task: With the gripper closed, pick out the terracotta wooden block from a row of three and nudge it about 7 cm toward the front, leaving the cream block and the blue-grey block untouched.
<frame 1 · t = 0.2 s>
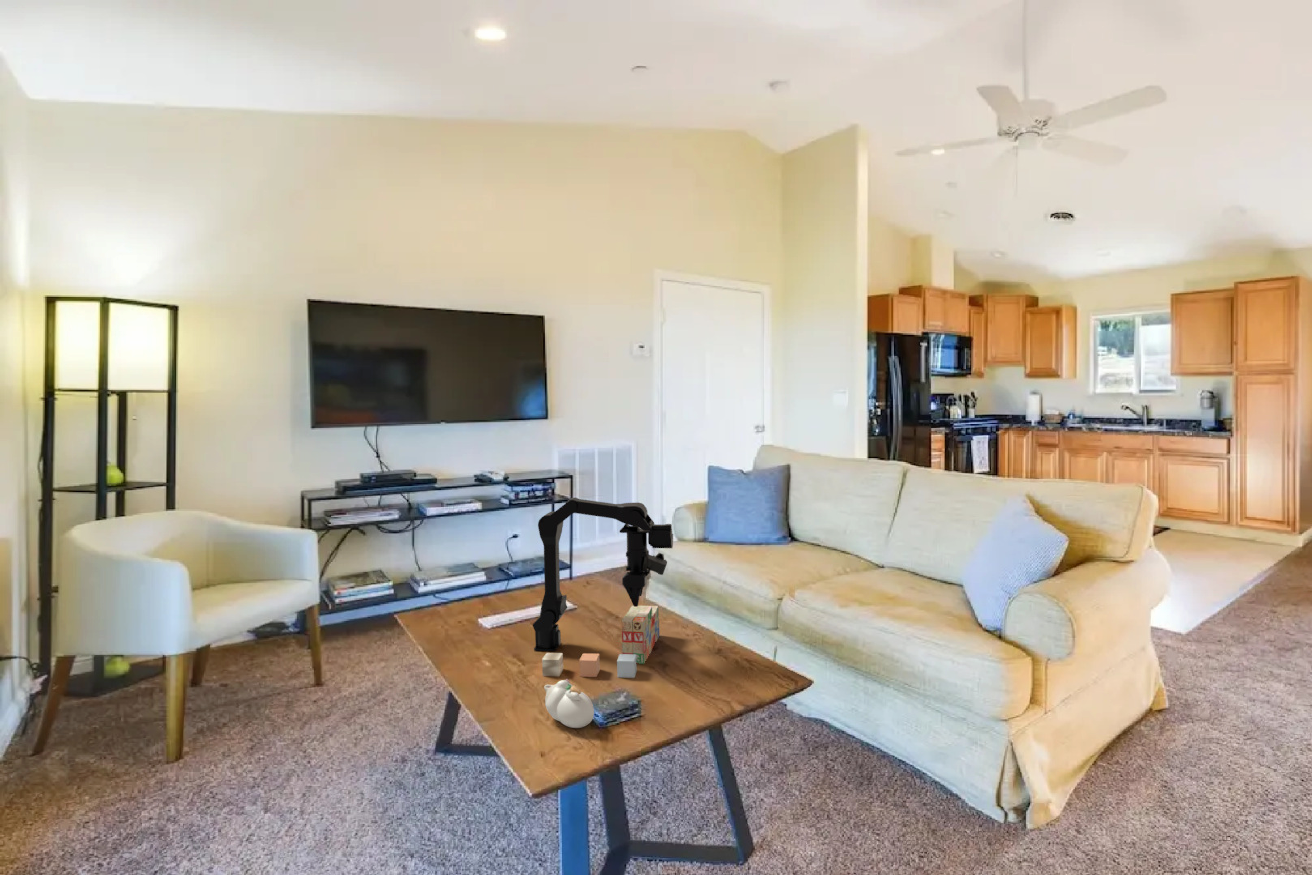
hand: (637, 601, 191), 14 cm above the table, tool pointing down, fingers open, 9 cm apart
cat figurine: (568, 721, 152), on the table
terracotta block: (589, 673, 177), on the table
stack of blocks: (642, 649, 192), on the table
blue grey block: (627, 674, 176), on the table
cream block: (553, 672, 178), on the table
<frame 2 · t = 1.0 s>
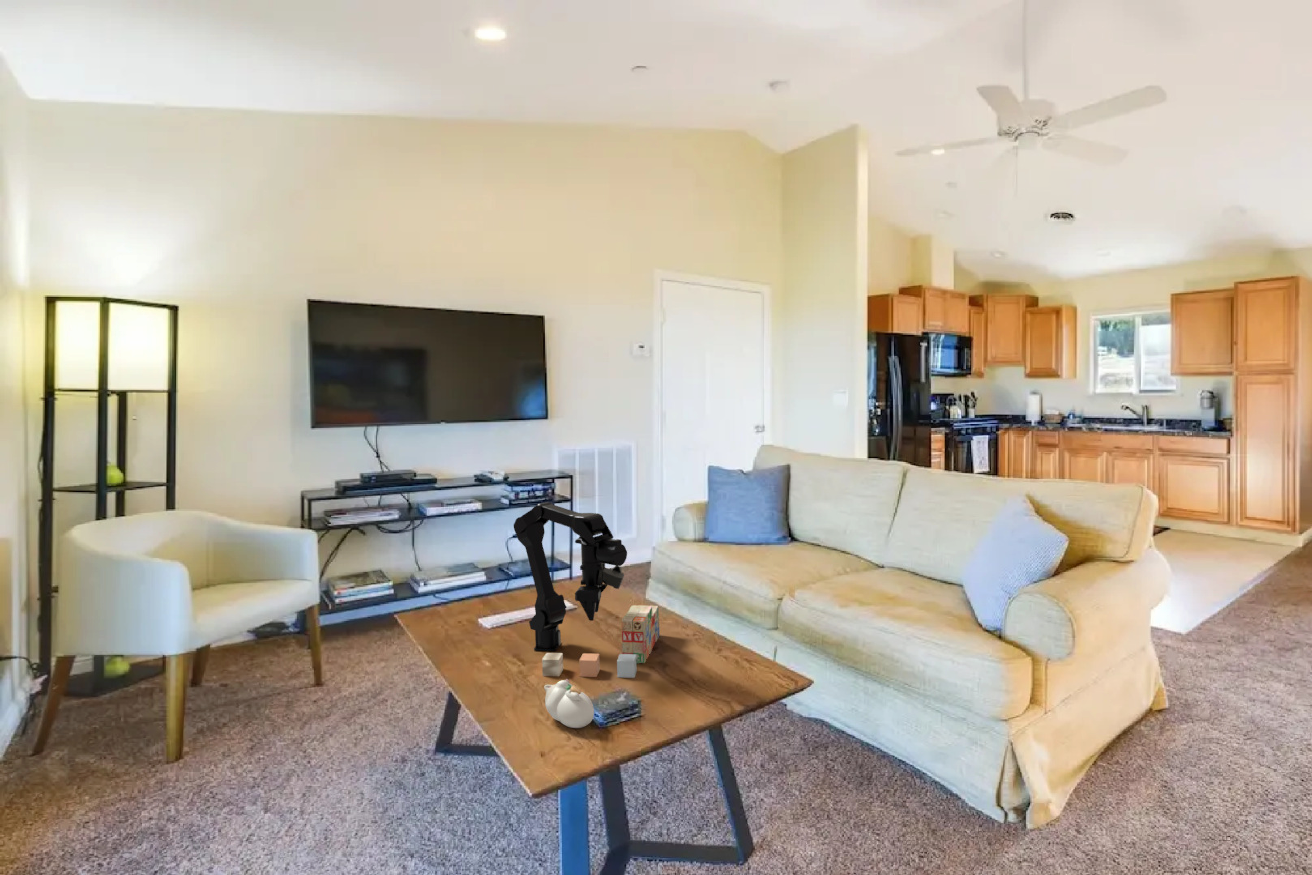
hand: (593, 616, 183), 13 cm above the table, tool pointing down, fingers open, 6 cm apart
nothing on the table moved.
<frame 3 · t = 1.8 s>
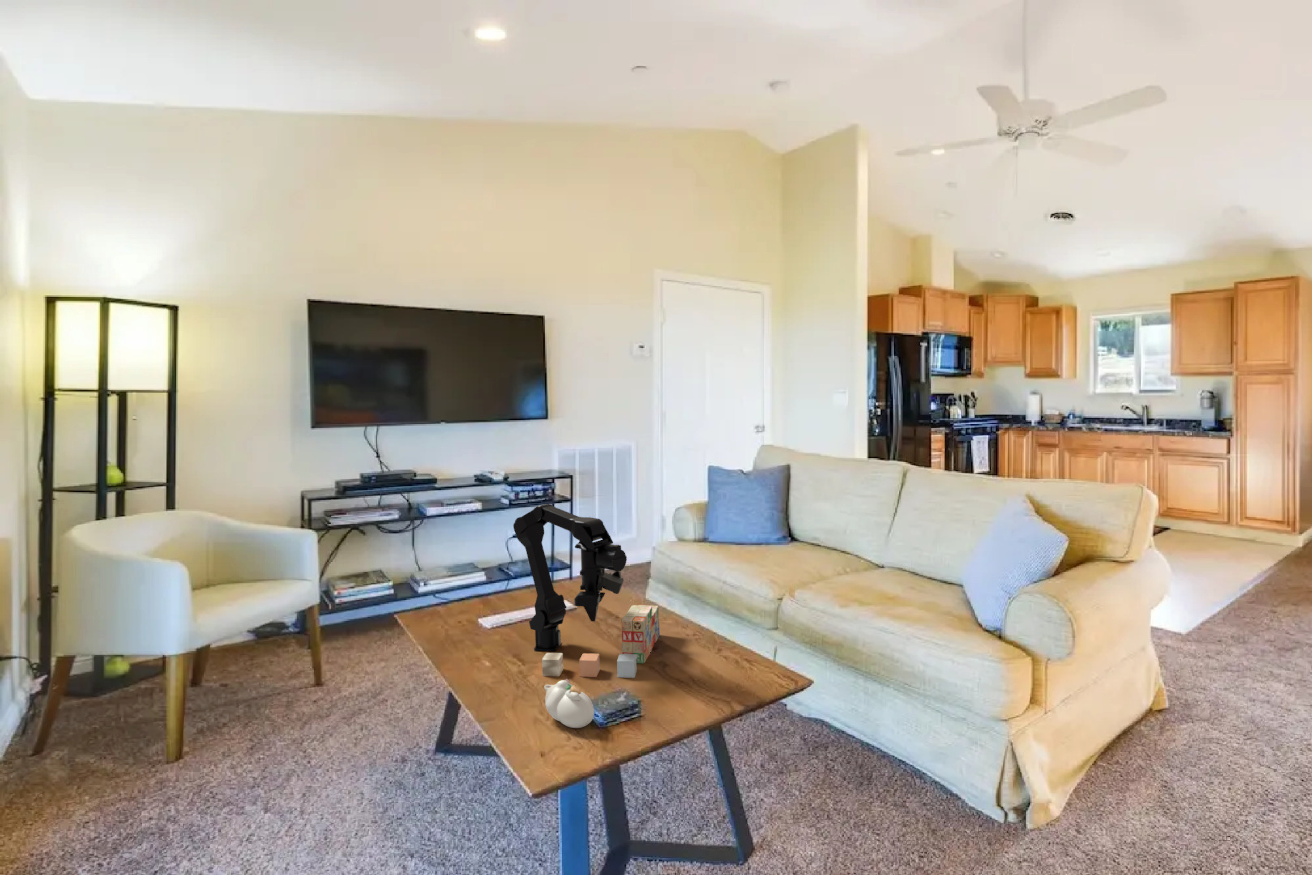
hand: (593, 621, 183), 12 cm above the table, tool pointing down, fingers closed
nothing on the table moved.
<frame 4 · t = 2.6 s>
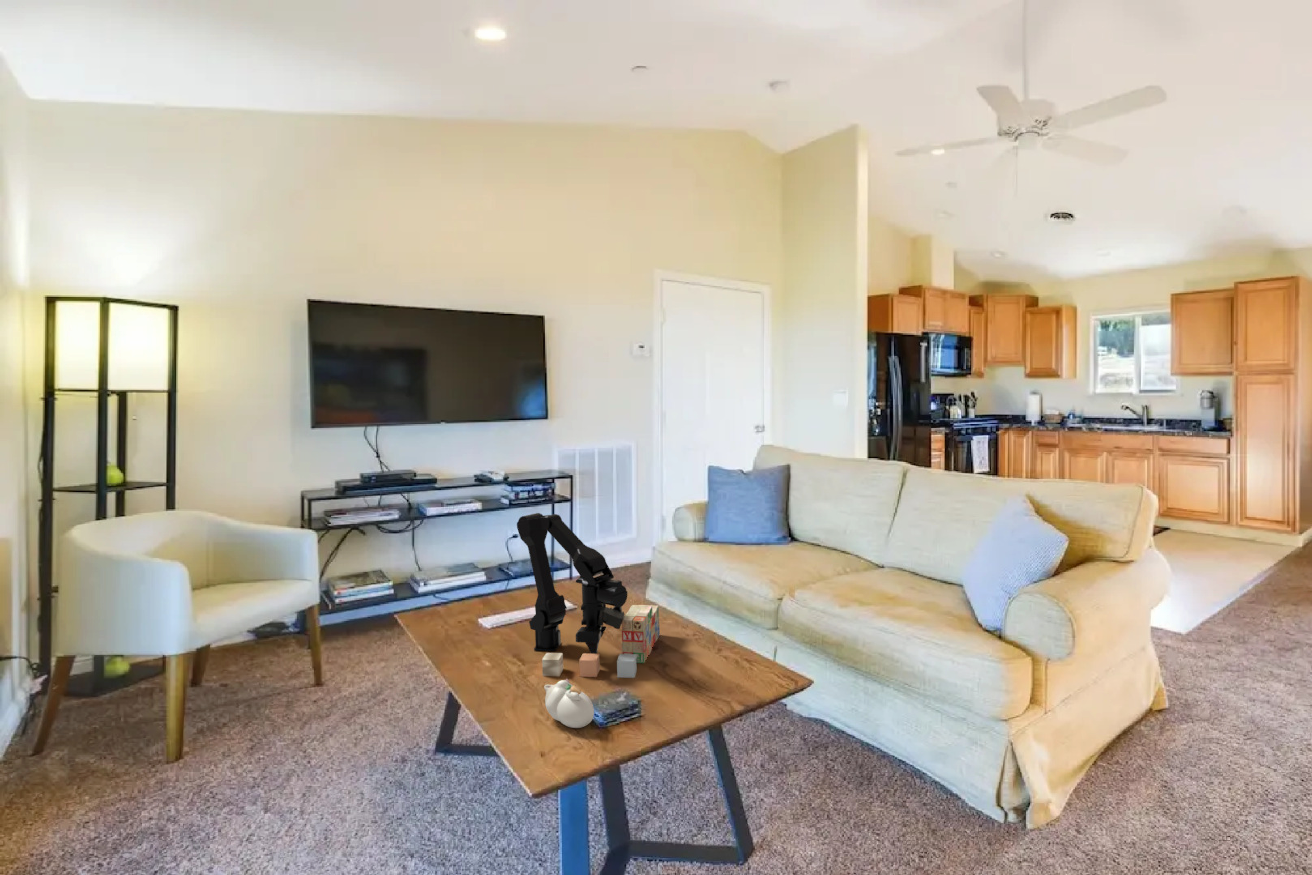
hand: (594, 655, 183), 2 cm above the table, tool pointing down, fingers closed
nothing on the table moved.
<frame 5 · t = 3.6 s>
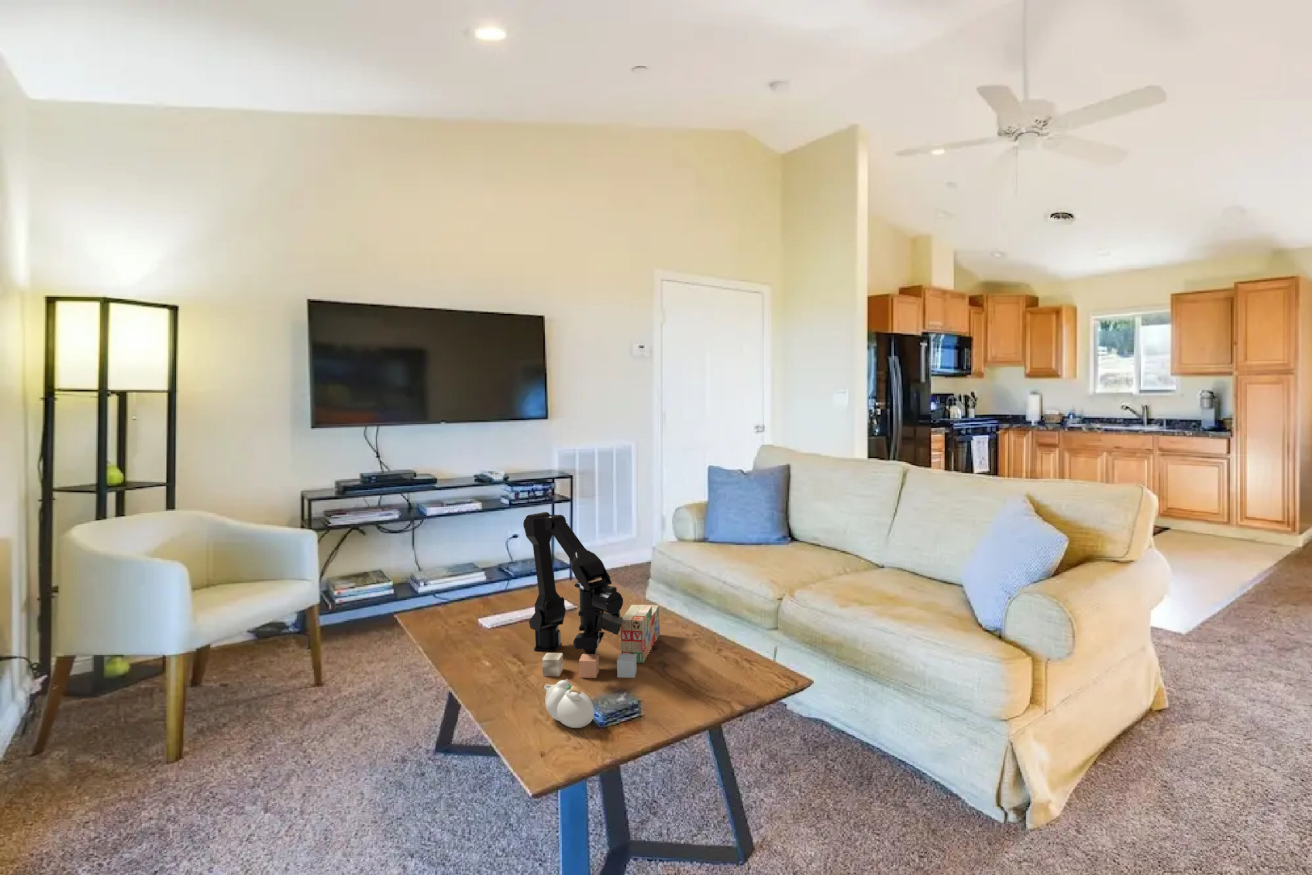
hand: (592, 661, 180), 2 cm above the table, tool pointing down, fingers closed
terracotta block: (589, 673, 176), on the table, touching gripper
everything else where it was.
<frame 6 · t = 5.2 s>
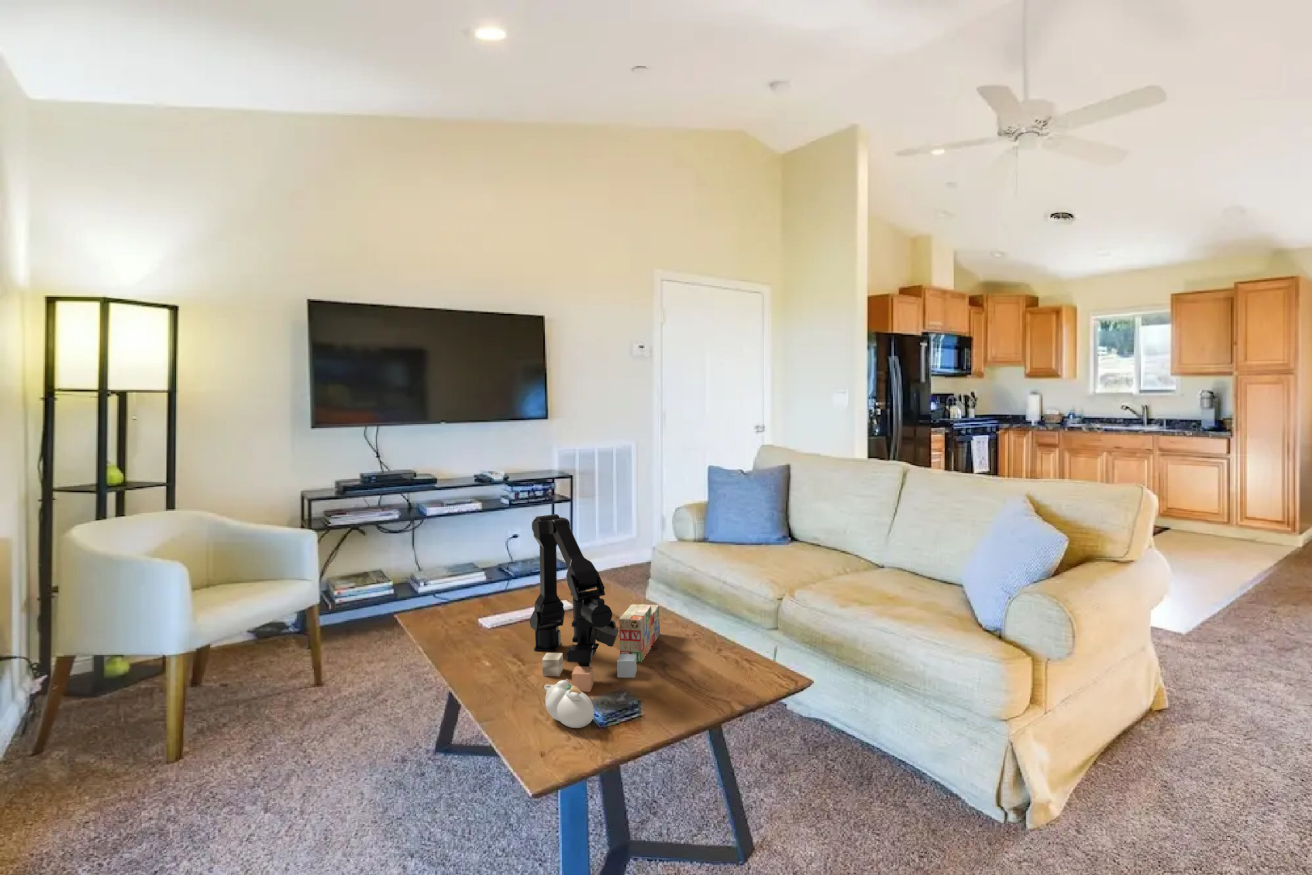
hand: (586, 674, 172), 2 cm above the table, tool pointing down, fingers closed
terracotta block: (583, 687, 168), on the table, touching gripper
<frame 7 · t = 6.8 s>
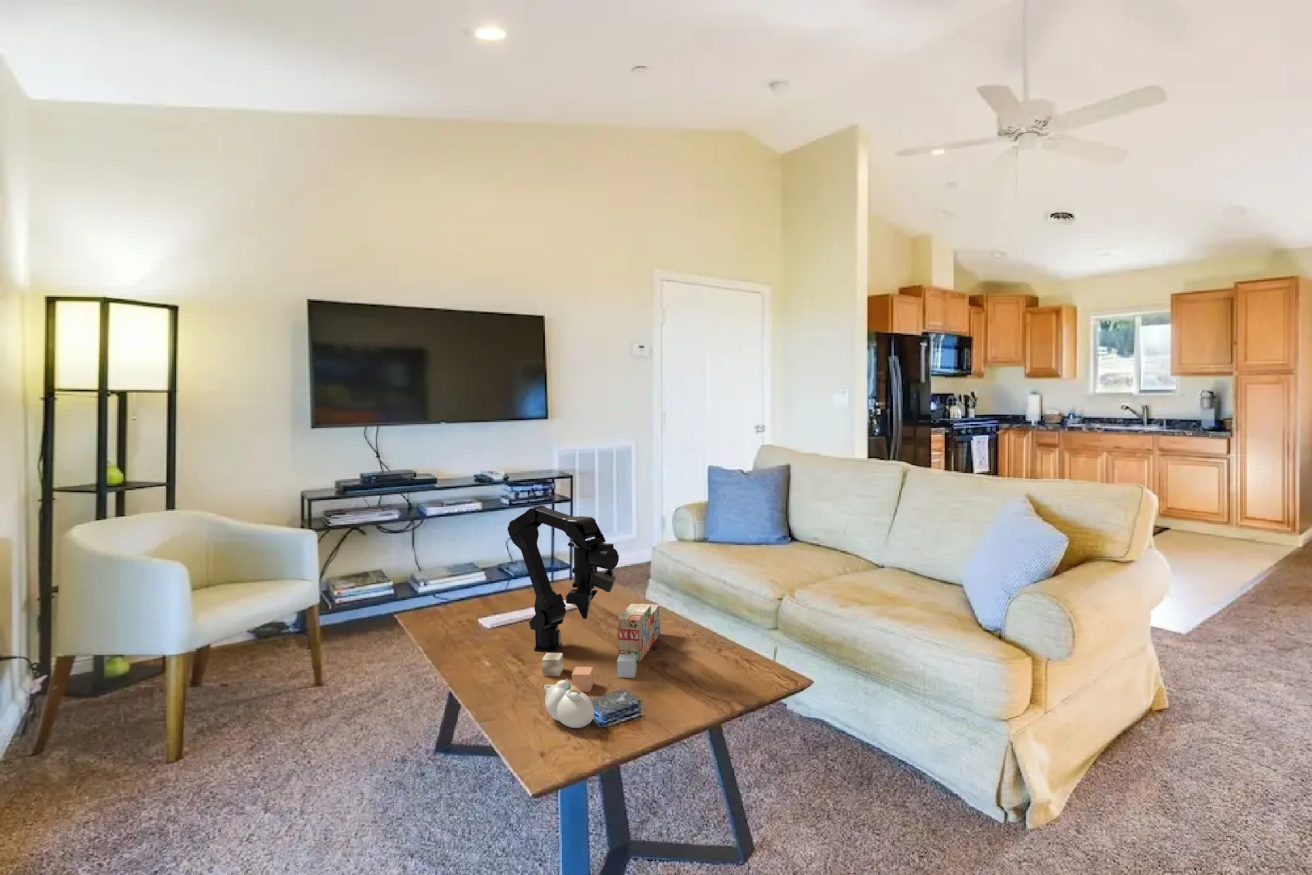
hand: (585, 618, 185), 12 cm above the table, tool pointing down, fingers closed
terracotta block: (583, 687, 168), on the table
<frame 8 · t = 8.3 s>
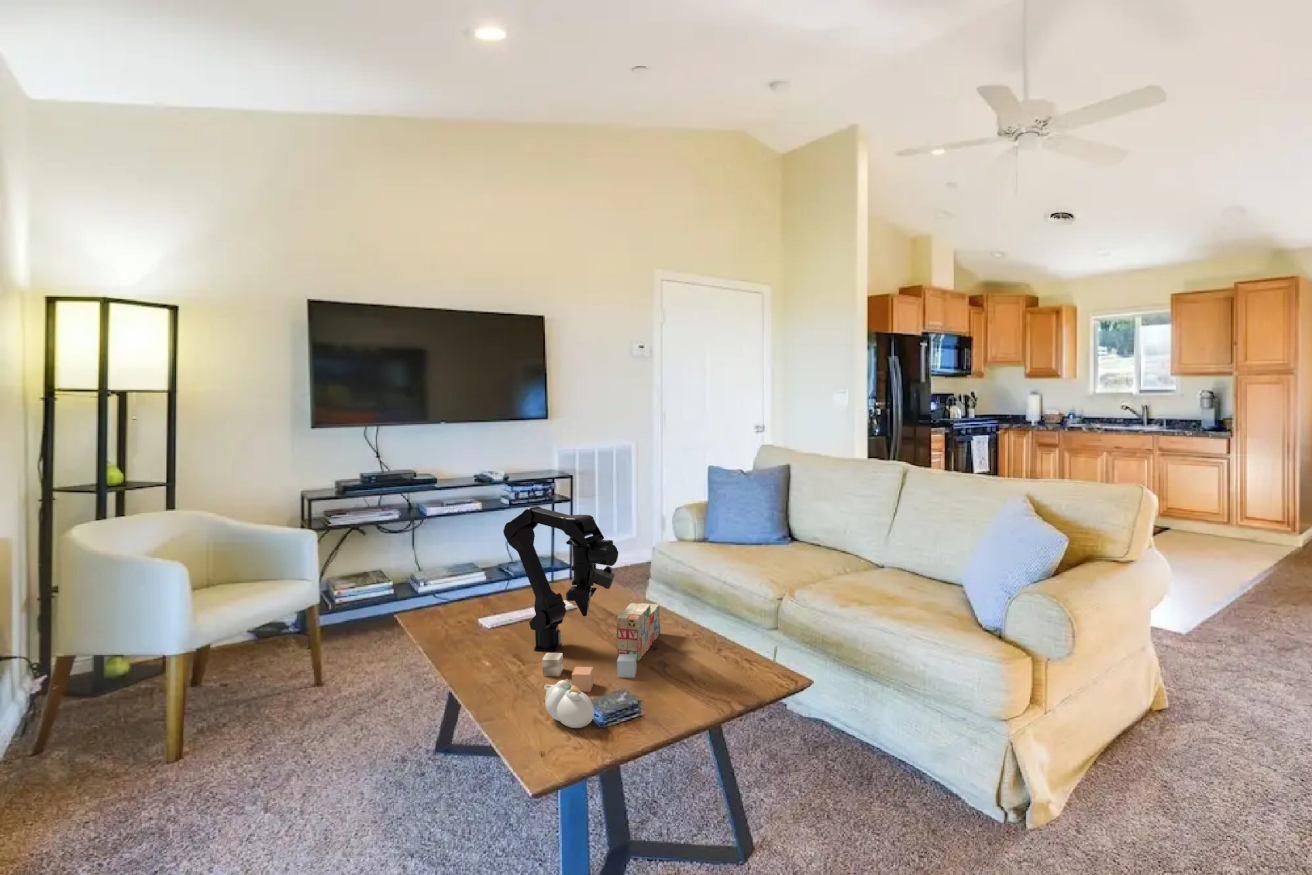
hand: (585, 615, 186), 12 cm above the table, tool pointing down, fingers closed
at the end: terracotta block inside the target area (0.8 cm from its centre), on the table; cream block moved 0.1 cm from its start; blue grey block moved 0.1 cm from its start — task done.
